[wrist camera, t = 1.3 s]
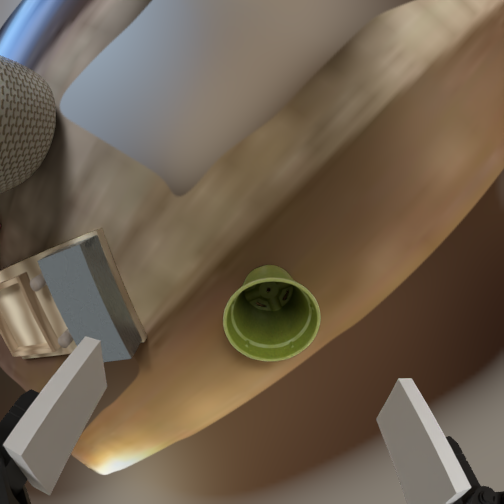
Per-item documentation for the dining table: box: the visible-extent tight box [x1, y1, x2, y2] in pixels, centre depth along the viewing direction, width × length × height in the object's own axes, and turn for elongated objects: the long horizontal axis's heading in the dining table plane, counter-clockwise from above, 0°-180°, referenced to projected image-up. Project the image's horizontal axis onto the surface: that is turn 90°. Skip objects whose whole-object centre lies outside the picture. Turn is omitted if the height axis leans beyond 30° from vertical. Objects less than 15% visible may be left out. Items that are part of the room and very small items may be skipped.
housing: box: [37, 235, 142, 362], centre depth 34 cm, size 8×15×4 cm, turn 16°
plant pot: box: [223, 265, 321, 362], centre depth 33 cm, size 9×9×9 cm
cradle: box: [0, 228, 147, 359], centre depth 36 cm, size 28×16×4 cm, turn 106°
